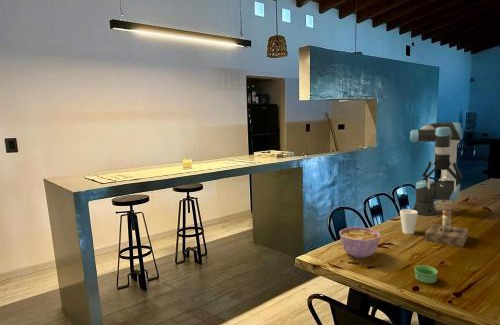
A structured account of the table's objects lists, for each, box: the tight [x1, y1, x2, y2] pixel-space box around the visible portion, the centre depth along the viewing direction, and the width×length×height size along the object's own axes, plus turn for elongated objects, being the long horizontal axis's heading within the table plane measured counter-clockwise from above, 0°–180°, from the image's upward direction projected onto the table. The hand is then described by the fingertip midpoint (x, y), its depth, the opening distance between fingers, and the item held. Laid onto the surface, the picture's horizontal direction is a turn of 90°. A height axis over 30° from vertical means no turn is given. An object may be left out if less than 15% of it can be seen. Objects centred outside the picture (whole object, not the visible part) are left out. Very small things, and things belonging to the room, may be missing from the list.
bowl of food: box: [339, 226, 381, 259], centre depth 170 cm, size 20×20×12 cm
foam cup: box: [399, 208, 418, 235], centre depth 198 cm, size 10×9×13 cm
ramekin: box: [413, 264, 439, 284], centre depth 142 cm, size 9×9×4 cm
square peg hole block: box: [424, 222, 469, 248], centre depth 186 cm, size 18×18×5 cm
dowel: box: [441, 209, 452, 233], centre depth 185 cm, size 4×4×16 cm
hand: (441, 189), depth 194 cm, fingers open, 13 cm apart
